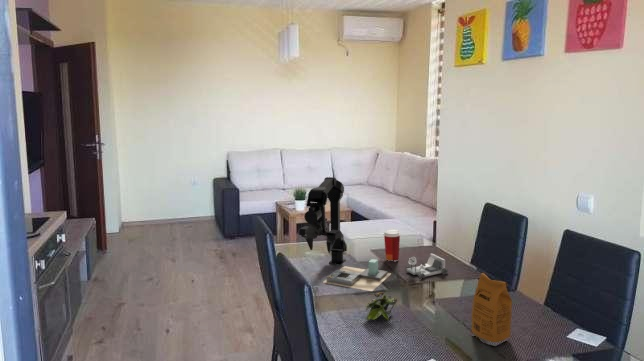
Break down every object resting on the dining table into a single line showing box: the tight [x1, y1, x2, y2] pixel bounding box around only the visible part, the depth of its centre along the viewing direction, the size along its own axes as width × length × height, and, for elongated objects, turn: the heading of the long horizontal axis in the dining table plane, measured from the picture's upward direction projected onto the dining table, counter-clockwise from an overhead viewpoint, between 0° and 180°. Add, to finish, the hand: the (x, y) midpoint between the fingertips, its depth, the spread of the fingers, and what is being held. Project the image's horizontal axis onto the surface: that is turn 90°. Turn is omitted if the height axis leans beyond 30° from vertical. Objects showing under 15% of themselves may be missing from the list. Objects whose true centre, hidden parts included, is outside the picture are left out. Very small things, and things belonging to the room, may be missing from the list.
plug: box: [367, 258, 379, 276], centre depth 233 cm, size 4×3×7 cm
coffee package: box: [471, 272, 513, 342], centre depth 173 cm, size 10×12×22 cm
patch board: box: [322, 265, 392, 292], centre depth 231 cm, size 22×24×1 cm
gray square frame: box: [361, 267, 389, 281], centre depth 233 cm, size 9×10×1 cm
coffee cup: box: [382, 229, 401, 261], centre depth 252 cm, size 8×8×15 cm
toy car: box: [404, 253, 449, 280], centre depth 235 cm, size 18×10×12 cm
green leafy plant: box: [365, 292, 398, 323], centre depth 193 cm, size 11×11×12 cm
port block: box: [326, 269, 361, 286], centre depth 229 cm, size 10×12×2 cm
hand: (320, 251), depth 228 cm, fingers open, 9 cm apart
